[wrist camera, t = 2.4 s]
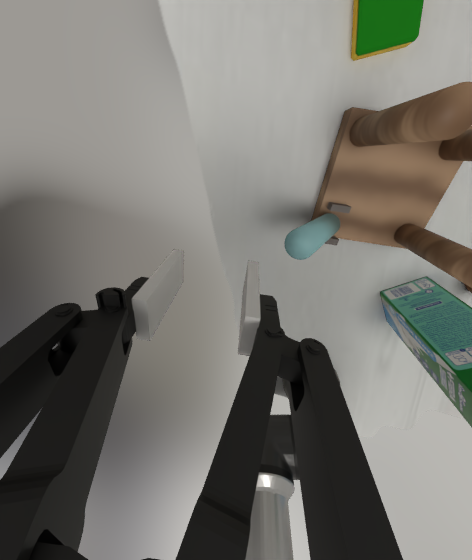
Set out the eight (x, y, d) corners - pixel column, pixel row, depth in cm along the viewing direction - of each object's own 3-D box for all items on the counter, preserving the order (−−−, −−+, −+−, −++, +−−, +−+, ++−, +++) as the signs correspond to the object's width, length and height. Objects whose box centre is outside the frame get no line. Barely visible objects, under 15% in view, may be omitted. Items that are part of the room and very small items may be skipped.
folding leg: (335, 238, 36) (309, 263, 25) (314, 232, 37) (281, 253, 27) (343, 216, 34) (319, 234, 24) (321, 210, 36) (288, 225, 25)
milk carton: (431, 308, 48) (576, 434, 26) (386, 321, 51) (485, 445, 29) (427, 276, 44) (592, 390, 23) (379, 291, 47) (487, 408, 25)
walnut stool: (400, 247, 42) (498, 308, 25) (307, 232, 42) (343, 284, 25) (464, 129, 33) (689, 102, 16) (344, 111, 32) (442, 63, 16)
